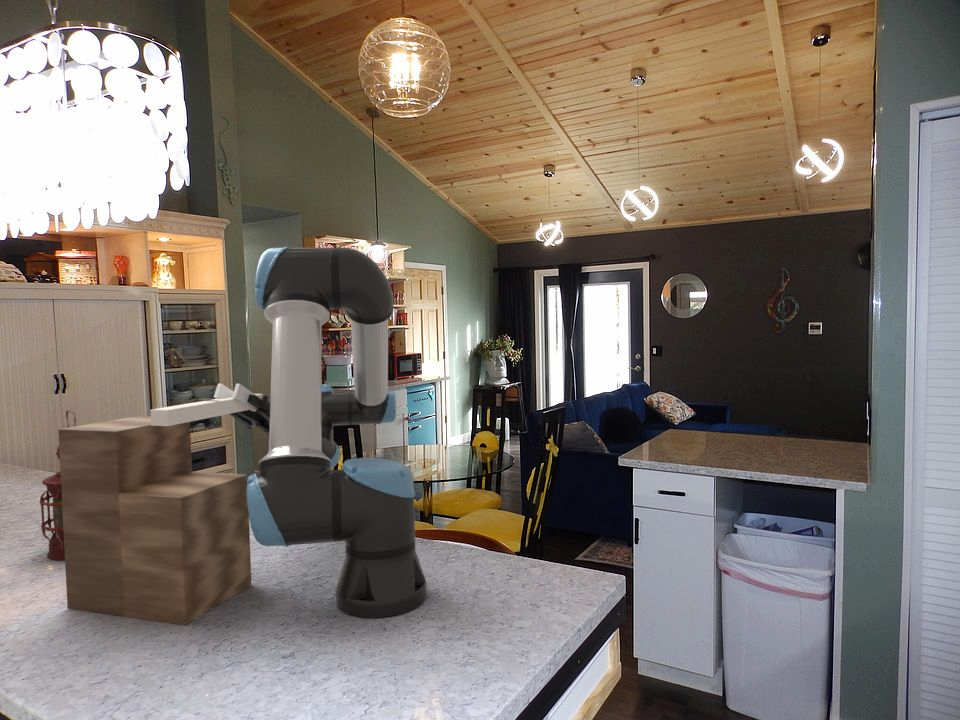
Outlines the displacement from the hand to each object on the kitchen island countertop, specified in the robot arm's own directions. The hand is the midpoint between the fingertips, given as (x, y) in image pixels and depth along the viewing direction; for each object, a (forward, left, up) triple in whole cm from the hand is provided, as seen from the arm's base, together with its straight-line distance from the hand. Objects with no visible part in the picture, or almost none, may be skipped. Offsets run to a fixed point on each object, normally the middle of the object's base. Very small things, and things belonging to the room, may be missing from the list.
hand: (226, 390), depth 112 cm
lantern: (+34, +27, -35) cm, 56 cm away
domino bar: (-3, +3, -4) cm, 5 cm away
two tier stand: (0, +12, -35) cm, 37 cm away
